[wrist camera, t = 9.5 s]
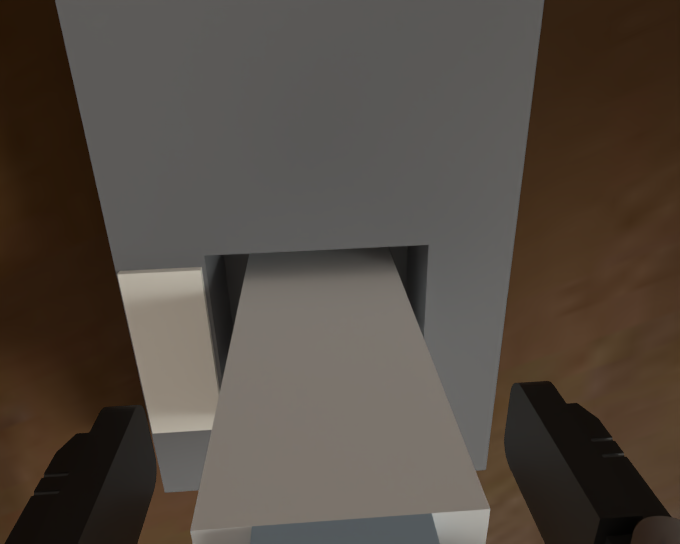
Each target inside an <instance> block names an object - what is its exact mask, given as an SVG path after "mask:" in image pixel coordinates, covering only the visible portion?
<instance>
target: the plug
mask: <svg viewBox="0 0 680 544" xmlns="http://www.w3.org/2000/svg"><path fill="white" fill-rule="evenodd" d="M489 515H490V507H489V504H488V502H487V499H486V497H485V494H484V492H483V489H482V486H481V484H480V481H479V479H478V476H477V474H476V471H475V468H474V466H473V463H472V461H471V458H470V456H469V453H468V451H467V448H466V445H465V443H464V440H463V438H462V435H461V433H460V430H459V427H458V425H457V422H456V420H455V417H454V415H453V412H452V410H451V407H450V404H449V402H448V399H447V397H446V394H445V392H444V389H443V386H442V384H441V381H440V379H439V376H438V374H437V371H436V369H435V366H434V363H433V361H432V358H431V356H430V353H429V351H428V348H427V345H426V343H425V340H424V338H423V335H422V333H421V330H420V328H419V325H418V322H417V320H416V317H415V315H414V312H413V310H412V307H411V304H410V302H409V299H408V297H407V294H406V292H405V289H404V287H403V284H402V281H401V279H400V276H399V274H398V271H397V269H396V266H395V263H394V261H393V258H392V256H391V253H390V251H389V248H388V247H375V248H354V249H333V250H312V251H292V252H271V253H250V254H249V258H248V262H247V267H246V272H245V276H244V281H243V286H242V290H241V295H240V300H239V305H238V309H237V314H236V319H235V323H234V328H233V333H232V337H231V342H230V347H229V352H228V356H227V361H226V366H225V370H224V375H223V380H222V384H221V389H220V394H219V398H218V403H217V408H216V413H215V417H214V422H213V427H212V431H211V436H210V441H209V445H208V450H207V455H206V460H205V464H204V469H203V474H202V478H201V483H200V488H199V492H198V497H197V502H196V506H195V511H194V516H193V521H192V525H191V530H190V532H191V537H192V542H193V544H486V537H487V529H488V522H489Z"/></svg>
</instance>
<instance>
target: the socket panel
mask: <svg viewBox="0 0 680 544" xmlns="http://www.w3.org/2000/svg"><path fill="white" fill-rule="evenodd" d="M55 2H56V7H57V11H58V16H59V20H60V25H61V29H62V34H63V38H64V43H65V47H66V51H67V56H68V60H69V65H70V69H71V74H72V78H73V83H74V87H75V92H76V96H77V101H78V105H79V110H80V114H81V119H82V123H83V128H84V132H85V137H86V141H87V146H88V150H89V154H90V159H91V163H92V168H93V172H94V177H95V181H96V186H97V190H98V195H99V199H100V204H101V208H102V213H103V217H104V222H105V226H106V231H107V235H108V240H109V244H110V249H111V253H112V258H113V262H114V266H115V271H116V275H117V280H118V284H119V289H120V293H121V298H122V302H123V307H124V311H125V316H126V320H127V325H128V329H129V334H130V338H131V343H132V347H133V352H134V356H135V361H136V365H137V369H138V374H139V378H140V383H141V387H142V392H143V396H144V401H145V405H146V410H147V414H148V419H149V423H150V428H151V432H152V437H153V441H154V446H155V450H156V455H157V459H158V464H159V468H160V472H161V477H162V481H163V486H164V490H165V492H179V491H193V490H199V488H200V483H201V478H202V474H203V469H204V464H205V460H206V455H207V450H208V445H209V441H210V436H211V431H212V427H213V422H214V417H215V413H216V408H217V403H218V398H219V394H220V389H221V384H222V380H223V375H224V370H225V366H226V361H227V356H228V352H229V347H230V342H231V337H232V333H233V328H234V323H235V319H236V314H237V309H238V305H239V300H240V295H241V290H242V286H243V281H244V276H245V272H246V267H247V262H248V258H249V254H250V253H271V252H292V251H312V250H333V249H354V248H375V247H388V248H389V251H390V253H391V256H392V258H393V261H394V263H395V266H396V269H397V271H398V274H399V276H400V279H401V281H402V284H403V287H404V289H405V292H406V294H407V297H408V299H409V302H410V304H411V307H412V310H413V312H414V315H415V317H416V320H417V322H418V325H419V328H420V330H421V333H422V335H423V338H424V340H425V343H426V345H427V348H428V351H429V353H430V356H431V358H432V361H433V363H434V366H435V369H436V371H437V374H438V376H439V379H440V381H441V384H442V386H443V389H444V392H445V394H446V397H447V399H448V402H449V404H450V407H451V410H452V412H453V415H454V417H455V420H456V422H457V425H458V427H459V430H460V433H461V435H462V438H463V440H464V443H465V445H466V448H467V451H468V453H469V456H470V458H471V461H472V463H473V466H474V468H475V471H477V470H486V464H487V456H488V448H489V440H490V432H491V424H492V416H493V408H494V400H495V392H496V384H497V376H498V368H499V360H500V352H501V344H502V336H503V328H504V319H505V311H506V303H507V295H508V287H509V279H510V271H511V263H512V255H513V247H514V239H515V231H516V223H517V215H518V207H519V199H520V191H521V183H522V175H523V167H524V159H525V151H526V143H527V135H528V127H529V119H530V111H531V103H532V95H533V87H534V79H535V71H536V63H537V55H538V47H539V39H540V31H541V23H542V15H543V7H544V0H55Z"/></svg>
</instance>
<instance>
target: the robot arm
mask: <svg viewBox="0 0 680 544" xmlns="http://www.w3.org/2000/svg"><path fill="white" fill-rule="evenodd" d="M504 445H505V453H506V458H507V461H508V464H509V467H510V469H511V471H512V473H513V476H514V478H515V480H516V482H517V484H518V486H519V488H520V491H521V493H522V495H523V497H524V499H525V501H526V503H527V506H528V508H529V510H530V512H531V514H532V516H533V519H534V521H535V523H536V525H537V527H538V529H539V531H540V534H541V536H542V538H543V540H544V542H545V544H680V519H677V518H672V517H671V516H670V514H669V513H668V512H667V510H666V509H665V508H664V506H663V505H662V504H661V502H660V501H659V500H658V498H657V497H656V496H655V494H654V493H653V491H652V490H651V489H650V487H649V486H648V485H647V483H646V482H645V481H644V479H643V478H642V477H641V475H640V474H639V473H638V471H637V470H636V469H635V467H634V466H633V465H632V463H631V462H630V461H629V459H628V458H627V457H624V453H623V451H622V450H621V449H620V447H619V446H618V444H617V443H616V442H615V441H613V440H612V436H611V435H610V434H609V432H608V431H607V430H606V428H605V427H604V426H603V424H602V423H601V422H600V420H599V419H598V418H597V417H595V416H594V415H593V414H591V413H590V412H588V411H587V410H586V409H584V408H583V407H582V406H580V405H579V404H577V403H571V404H566V402H565V401H564V399H563V398H562V397H561V395H560V394H559V392H558V391H557V389H556V388H555V386H554V385H553V384H552V383H551V382H549V381H541V382H524V383H514V384H513V386H512V388H511V393H510V400H509V407H508V414H507V422H506V429H505V437H504ZM155 482H156V458H155V454H154V449H153V445H152V440H151V436H150V432H149V427H148V423H147V418H146V414H145V410H144V408H143V407H142V406H141V405H131V406H115V407H104V408H103V409H102V410H101V411H100V413H99V415H98V417H97V419H96V421H95V423H94V425H93V427H92V429H91V431H90V433H79V434H76V435H75V436H74V437H72V438H71V439H70V440H69V441H68V442H67V443H66V444H65V445H64V446H63V447H62V448H61V449H59V450H58V451H57V452H56V454H55V455H54V457H53V459H52V461H51V462H50V464H49V466H48V468H47V470H46V471H45V473H44V478H41V480H40V482H39V484H38V485H37V487H36V489H35V491H34V496H31V498H30V500H29V501H28V503H27V505H26V507H25V508H24V510H23V512H22V514H21V516H20V517H19V519H18V521H17V523H16V524H15V526H14V528H13V530H12V531H11V533H10V535H9V537H8V538H7V540H6V542H5V544H137V543H138V539H139V536H140V533H141V530H142V527H143V523H144V520H145V517H146V514H147V511H148V507H149V504H150V501H151V498H152V495H153V491H154V488H155Z"/></svg>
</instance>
